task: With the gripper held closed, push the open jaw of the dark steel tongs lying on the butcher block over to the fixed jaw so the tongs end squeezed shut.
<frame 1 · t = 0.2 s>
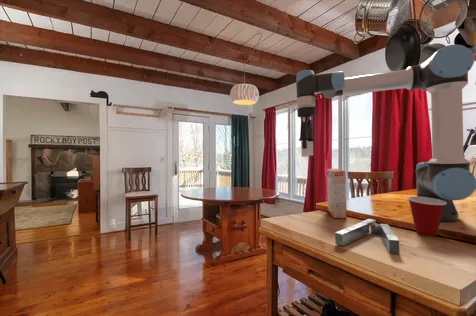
hand: (307, 156, 107), 28 cm above the kitchen island, tool pointing down, fingers open, 13 cm apart
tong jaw: (356, 231, 83), point 2 cm above the kitchen island, hinge at 32.0°
cracker box: (337, 214, 113), on the kitchen island
plastic cup: (427, 233, 84), on the kitchen island
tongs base: (376, 232, 87), on the kitchen island
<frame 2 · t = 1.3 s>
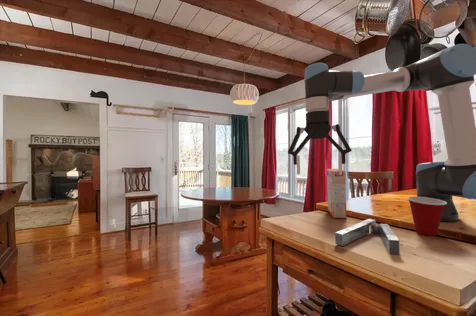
hand: (319, 174, 83), 22 cm above the kitchen island, tool pointing down, fingers open, 13 cm apart
nothing on the kitchen island moved.
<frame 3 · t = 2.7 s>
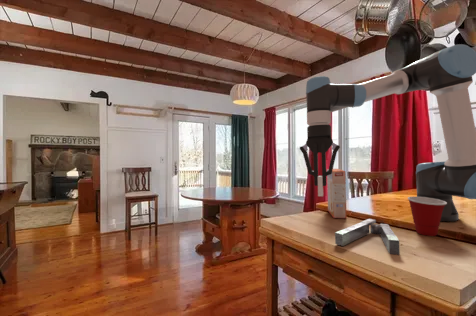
hand: (320, 195, 82), 15 cm above the kitchen island, tool pointing down, fingers closed
nothing on the kitchen island moved.
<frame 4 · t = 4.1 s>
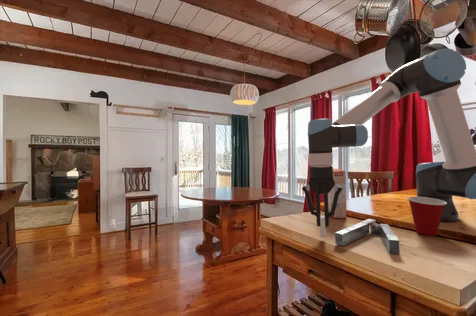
hand: (323, 235, 82), 2 cm above the kitchen island, tool pointing down, fingers closed
nothing on the kitchen island moved.
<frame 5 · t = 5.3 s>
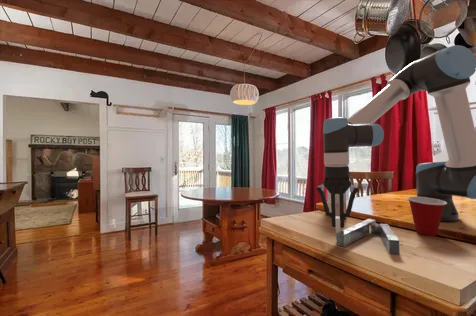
hand: (338, 236, 80), 2 cm above the kitchen island, tool pointing down, fingers closed
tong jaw: (357, 231, 83), point 2 cm above the kitchen island, hinge at 30.5°, touching gripper
everything else where it was.
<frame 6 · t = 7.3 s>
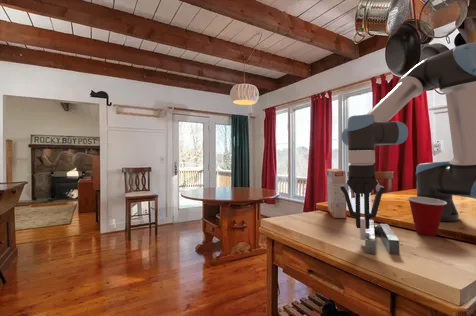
hand: (362, 238, 77), 2 cm above the kitchen island, tool pointing down, fingers closed
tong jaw: (370, 234, 80), point 2 cm above the kitchen island, hinge at 6.2°, touching gripper
everything else where it was.
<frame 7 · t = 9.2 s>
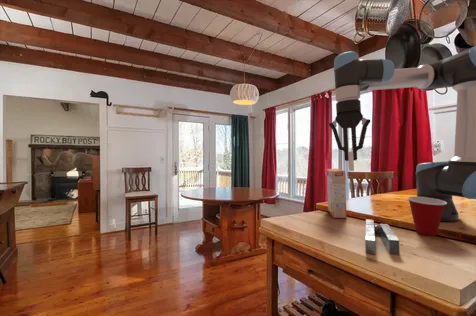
hand: (351, 170, 83), 23 cm above the kitchen island, tool pointing down, fingers closed
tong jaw: (370, 234, 80), point 2 cm above the kitchen island, hinge at 6.2°
everything else where it was.
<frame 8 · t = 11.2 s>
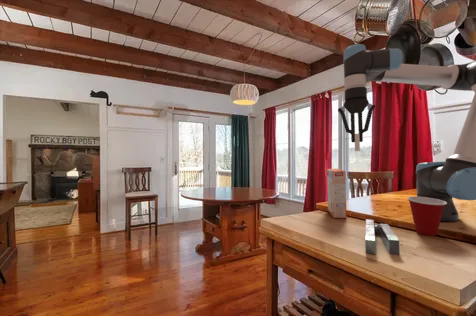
hand: (357, 150, 92), 29 cm above the kitchen island, tool pointing down, fingers closed
nothing on the kitchen island moved.
at the end: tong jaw at +6° (first picture: +32°); plastic cup moved 0.2 cm from its start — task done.
